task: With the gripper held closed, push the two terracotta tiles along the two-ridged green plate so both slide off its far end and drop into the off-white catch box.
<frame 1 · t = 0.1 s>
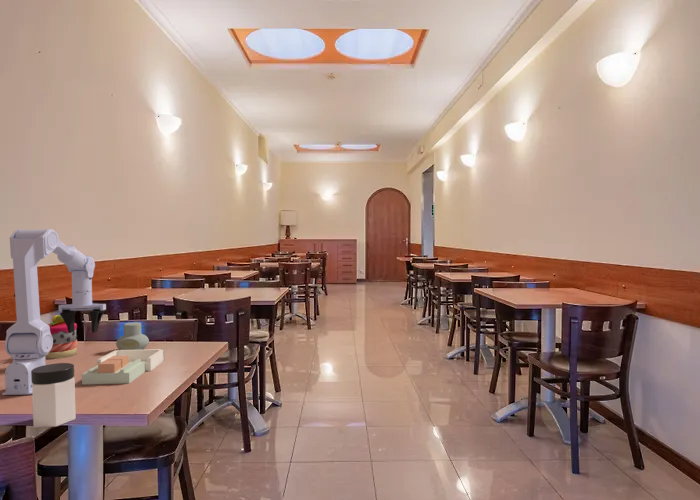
hand: (83, 332, 154), 10 cm above the table, tool pointing down, fingers open, 7 cm apart
tile b: (117, 365, 138), point 3 cm above the table, touching two-ridged green plate
air freshener: (132, 351, 170), on the table
tile a: (110, 370, 133), point 3 cm above the table, touching two-ridged green plate
cake: (60, 355, 164), on the table
catch box: (132, 366, 148), on the table
two-ridged green plate: (115, 377, 136), on the table
jar: (54, 421, 104), on the table
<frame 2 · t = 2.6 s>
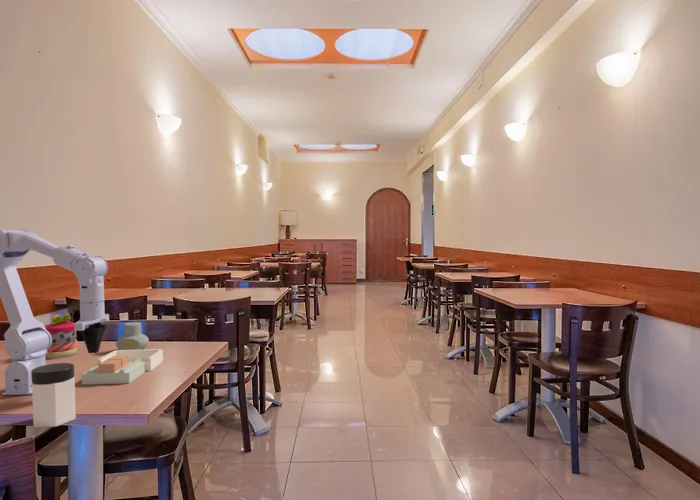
hand: (93, 352, 124), 10 cm above the table, tool pointing down, fingers closed
nothing on the table moved.
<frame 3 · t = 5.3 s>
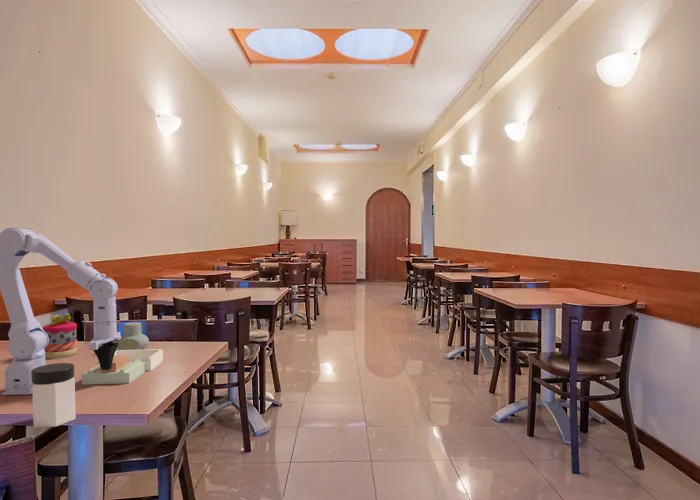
hand: (106, 369, 131), 4 cm above the table, tool pointing down, fingers closed
tile b: (118, 365, 138), point 3 cm above the table, touching two-ridged green plate, tile a
tile a: (111, 369, 134), point 3 cm above the table, touching gripper, tile b
everything else where it was.
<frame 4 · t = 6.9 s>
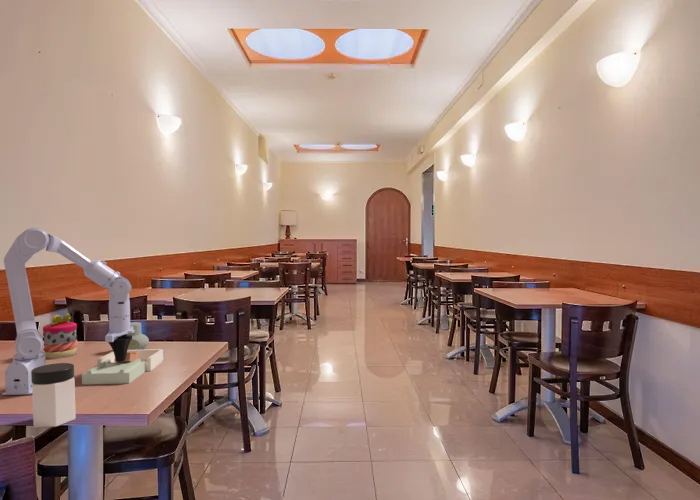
hand: (120, 360, 140), 4 cm above the table, tool pointing down, fingers closed
tile b: (128, 359, 145), point 3 cm above the table, tilted 94°, touching catch box, tile a
tile a: (124, 362, 142), point 3 cm above the table, tilted 23°, touching gripper, tile b
everything else where it was.
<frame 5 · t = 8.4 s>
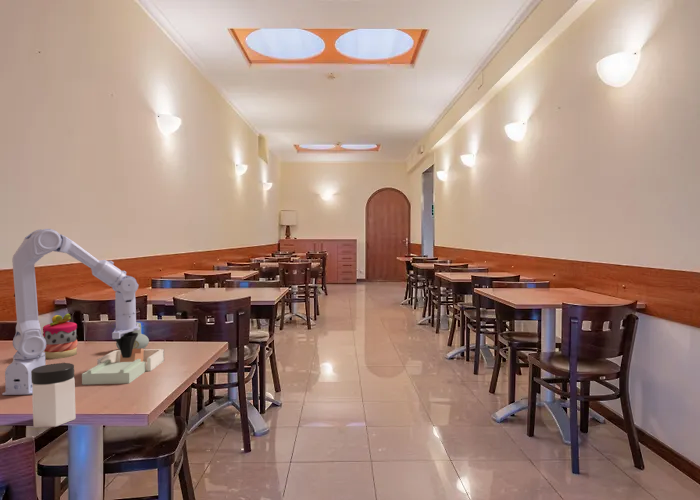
hand: (126, 357, 144), 4 cm above the table, tool pointing down, fingers closed
tile b: (133, 355, 149), point 3 cm above the table, tilted 104°, touching catch box, tile a
tile a: (130, 361, 147), point 2 cm above the table, tilted 14°, touching gripper, tile b
everything else where it was.
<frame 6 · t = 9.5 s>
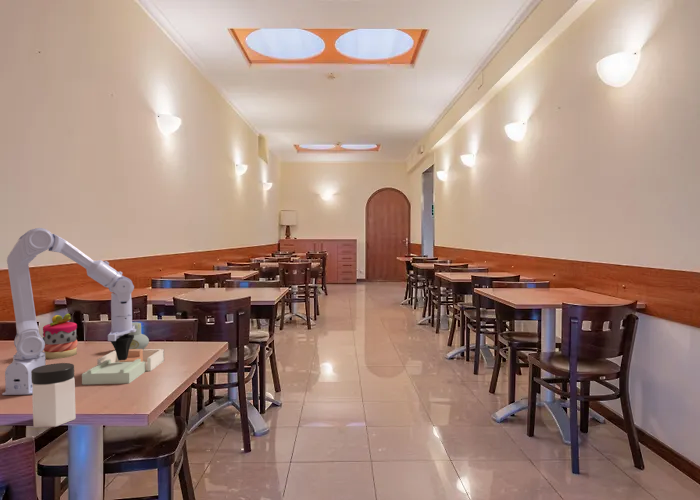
hand: (122, 359, 141), 4 cm above the table, tool pointing down, fingers closed
tile b: (132, 357, 149), point 3 cm above the table, tilted 90°, touching catch box
tile a: (129, 366, 146), resting on catch box
everything else where it was.
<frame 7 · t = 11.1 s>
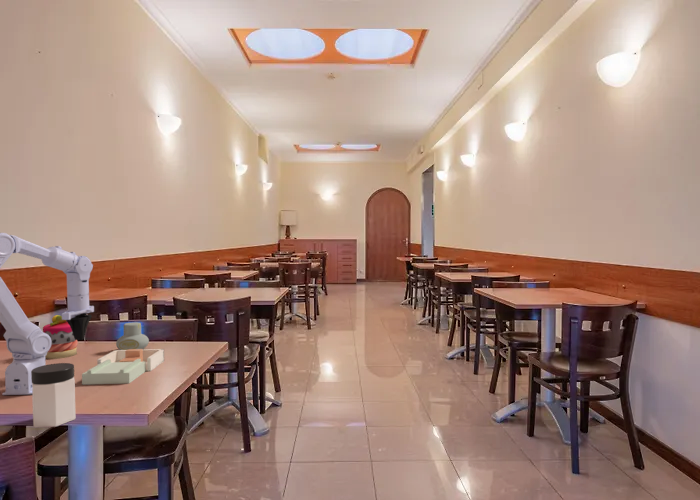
hand: (79, 339, 141), 10 cm above the table, tool pointing down, fingers closed
nothing on the table moved.
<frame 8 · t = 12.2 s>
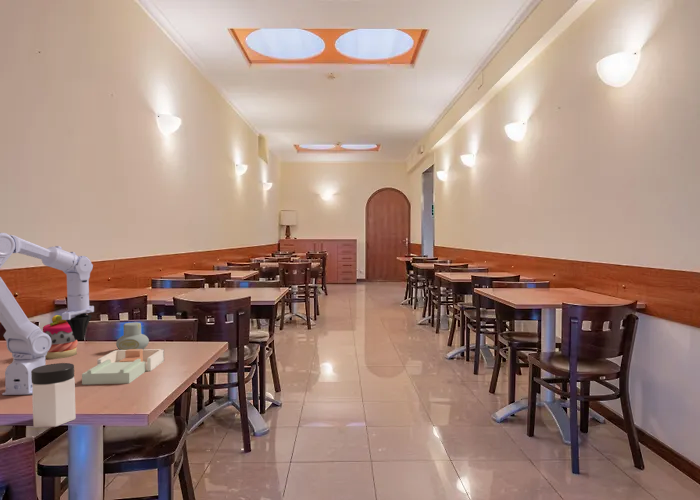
hand: (79, 339, 141), 10 cm above the table, tool pointing down, fingers closed
nothing on the table moved.
at the end: tile a inside the target area on the catch box (2.3 cm from its centre), point 0.4 cm above the catch box's base; tile b inside the target area on the catch box (0.1 cm from its centre), point 2.6 cm above the catch box's base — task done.
